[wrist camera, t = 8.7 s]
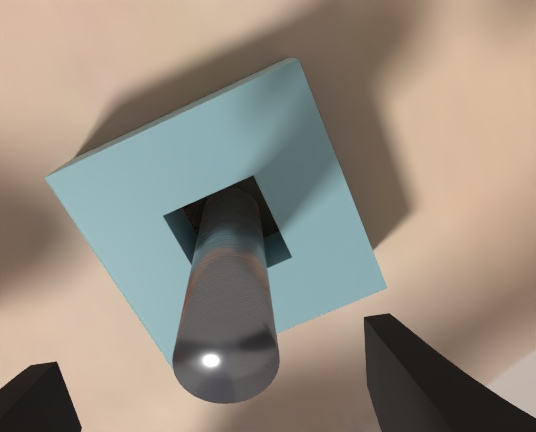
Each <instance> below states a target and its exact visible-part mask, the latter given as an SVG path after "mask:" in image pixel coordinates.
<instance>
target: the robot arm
mask: <svg viewBox="0 0 536 432" xmlns="http://www.w3.org/2000/svg"><path fill="white" fill-rule="evenodd" d="M364 331H365V352H366V373H367V387H368V390H369V393H370V397H371V400H372V403H373V406H374V410H375V413H376V416H377V419H378V422H379V425H380V428H381V430H382V432H536V418H534V417H533V416H531V415H529V414H528V413H526V412H524V411H522V410H521V409H519V408H517V407H516V406H514V405H512V404H511V403H509V402H508V401H506V400H505V399H503V398H501V397H500V396H498V395H497V394H496V393H494V392H492V391H491V390H490V389H488V388H487V387H485V386H484V385H482V384H481V383H479V382H478V381H476V380H475V379H473V378H472V377H470V376H469V375H468V374H466V373H465V372H463V371H462V370H461V369H459V368H458V367H457V366H455V365H454V364H453V363H451V362H450V361H449V360H447V359H446V358H445V357H443V356H442V355H441V354H439V353H438V352H437V351H436V350H434V349H433V348H432V347H431V346H429V345H428V344H427V343H426V342H424V341H423V340H422V339H421V338H419V337H418V336H417V335H416V334H414V333H413V332H412V331H411V330H410V329H408V328H407V327H406V326H405V325H403V324H402V323H401V322H400V321H398V320H397V319H396V318H395V317H393V316H392V315H391V314H390V313H388V314H381V315H375V316H368V317H364ZM81 429H82V427H81V424H80V422H79V419H78V416H77V414H76V411H75V408H74V406H73V403H72V400H71V398H70V395H69V392H68V390H67V387H66V384H65V382H64V379H63V376H62V374H61V371H60V368H59V366H58V363H57V362H50V363H43V364H36V365H30V366H29V367H28V368H26V369H25V370H24V371H22V372H21V373H20V374H18V375H17V376H16V377H15V378H13V379H12V380H11V381H10V382H8V383H7V384H6V385H5V386H3V387H2V388H1V389H0V432H81Z"/></svg>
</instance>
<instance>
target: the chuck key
mask: <svg viewBox="0 0 536 432" xmlns="http://www.w3.org/2000/svg"><path fill="white" fill-rule="evenodd" d="M172 365H173V370H174V374H175V376H176V378H177V380H178V381H179V383H180V384H181V385H182V386H183V387H184V389H186V390H187V391H188V392H189V393H191V394H192V395H194V396H196V397H198V398H200V399H202V400H205V401H209V402H213V403H223V404H227V403H236V402H241V401H245V400H247V399H250V398H252V397H254V396H256V395H258V394H259V393H261V392H262V391H263V390H265V389H266V388H267V387H268V386H269V385H270V383H271V382H272V381H273V379H274V378H275V376H276V374H277V371H278V368H279V350H278V343H277V335H276V328H275V321H274V314H273V307H272V299H271V292H270V285H269V278H268V270H267V263H266V256H265V249H264V242H263V234H262V227H261V220H260V213H259V208H258V205H257V203H256V201H255V199H254V198H253V197H252V196H251V195H250V194H248V193H247V192H245V191H243V190H240V189H237V188H225V189H222V190H219V191H217V192H215V193H214V194H212V195H211V196H210V197H209V198H208V200H207V201H206V203H205V205H204V209H203V213H202V218H201V223H200V228H199V232H198V237H197V242H196V247H195V252H194V256H193V261H192V266H191V271H190V275H189V280H188V285H187V290H186V295H185V299H184V304H183V309H182V314H181V318H180V323H179V328H178V333H177V338H176V342H175V347H174V352H173V357H172Z"/></svg>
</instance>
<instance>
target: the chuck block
mask: <svg viewBox="0 0 536 432" xmlns="http://www.w3.org/2000/svg"><path fill="white" fill-rule="evenodd" d="M253 175H254V178H255V180H256V182H257V184H258V186H259V188H260V190H261V192H262V194H263V197H264V199H265V201H266V203H267V205H268V207H269V209H270V211H271V213H272V216H273V218H274V220H275V222H276V224H277V226H278V228H279V230H280V231H278V232H276V233H274V234H271V235H269V236H267V237H265V238H263V242H264V249H265V256H266V263H267V270H268V278H269V285H270V292H271V299H272V307H273V314H274V321H275V328H276V334H277V333H279V332H282V331H284V330H286V329H289V328H291V327H294V326H296V325H299V324H301V323H304V322H306V321H308V320H311V319H313V318H316V317H318V316H321V315H323V314H325V313H328V312H330V311H333V310H335V309H338V308H340V307H343V306H345V305H347V304H350V303H352V302H355V301H357V300H360V299H362V298H364V297H367V296H369V295H372V294H374V293H377V292H379V291H382V290H384V289H386V288H387V286H386V283H385V281H384V278H383V276H382V273H381V271H380V268H379V265H378V263H377V260H376V258H375V255H374V252H373V250H372V247H371V245H370V242H369V240H368V237H367V234H366V232H365V229H364V227H363V224H362V222H361V219H360V216H359V214H358V211H357V209H356V206H355V203H354V201H353V198H352V196H351V193H350V191H349V188H348V185H347V183H346V180H345V178H344V175H343V172H342V170H341V167H340V165H339V162H338V160H337V157H336V154H335V152H334V149H333V147H332V144H331V142H330V139H329V136H328V134H327V131H326V129H325V126H324V123H323V121H322V118H321V116H320V113H319V111H318V108H317V105H316V103H315V100H314V98H313V95H312V92H311V90H310V87H309V85H308V82H307V80H306V77H305V74H304V72H303V69H302V67H301V64H300V62H299V59H298V58H291V57H288V58H286V59H284V60H281V61H279V62H277V63H275V64H273V65H271V66H269V67H267V68H264V69H262V70H260V71H258V72H256V73H254V74H252V75H250V76H247V77H245V78H243V79H241V80H239V81H237V82H235V83H233V84H230V85H228V86H226V87H224V88H222V89H220V90H218V91H216V92H213V93H211V94H209V95H207V96H205V97H203V98H201V99H199V100H196V101H194V102H192V103H190V104H188V105H186V106H184V107H181V108H179V109H177V110H175V111H173V112H171V113H169V114H167V115H164V116H162V117H160V118H158V119H156V120H154V121H152V122H150V123H147V124H145V125H143V126H141V127H139V128H137V129H135V130H133V131H130V132H128V133H126V134H124V135H122V136H120V137H118V138H116V139H113V140H111V141H109V142H107V143H105V144H103V145H101V146H99V147H96V148H94V149H92V150H90V151H88V152H86V153H84V154H81V155H79V156H77V157H75V158H73V159H72V160H70V161H69V162H67V163H66V164H64V165H63V166H61V167H60V168H58V169H57V170H55V171H54V172H52V173H51V174H49V175H48V176H46V177H45V179H46V181H47V182H48V184H49V185H50V187H51V188H52V190H53V191H54V193H55V194H56V196H57V197H58V199H59V200H60V202H61V203H62V205H63V206H64V208H65V209H66V211H67V212H68V214H69V215H70V217H71V218H72V220H73V221H74V223H75V224H76V226H77V227H78V229H79V230H80V232H81V233H82V235H83V236H84V238H85V239H86V240H87V242H88V243H89V245H90V246H91V248H92V249H93V251H94V252H95V254H96V255H97V257H98V258H99V260H100V261H101V263H102V264H103V266H104V267H105V269H106V270H107V272H108V273H109V275H110V276H111V278H112V279H113V281H114V282H115V284H116V285H117V287H118V288H119V290H120V291H121V293H122V294H123V296H124V297H125V299H126V300H127V302H128V303H129V305H130V306H131V308H132V309H133V310H134V312H135V313H136V315H137V316H138V318H139V319H140V321H141V322H142V324H143V325H144V327H145V328H146V330H147V331H148V333H149V334H150V336H151V337H152V339H153V340H154V342H155V343H156V345H157V346H158V348H159V349H160V351H161V352H162V354H163V355H164V357H165V358H166V360H167V361H168V363H169V364H170V366H171V367H172V369H173V365H172V357H173V352H174V347H175V342H176V338H177V333H178V328H179V323H180V318H181V314H182V309H183V304H184V299H185V295H186V290H187V285H188V280H189V275H190V271H191V266H192V261H193V256H194V252H195V247H196V242H197V237H198V235H197V233H196V231H195V229H194V228H193V226H192V224H191V222H190V221H189V219H188V217H187V215H186V213H185V212H184V210H183V208H182V207H183V206H186V205H188V204H190V203H192V202H195V201H197V200H199V199H201V198H204V197H206V196H208V195H210V194H212V193H215V192H217V191H219V190H221V189H224V188H226V187H228V186H230V185H233V184H235V183H237V182H239V181H242V180H244V179H246V178H248V177H250V176H253Z"/></svg>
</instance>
